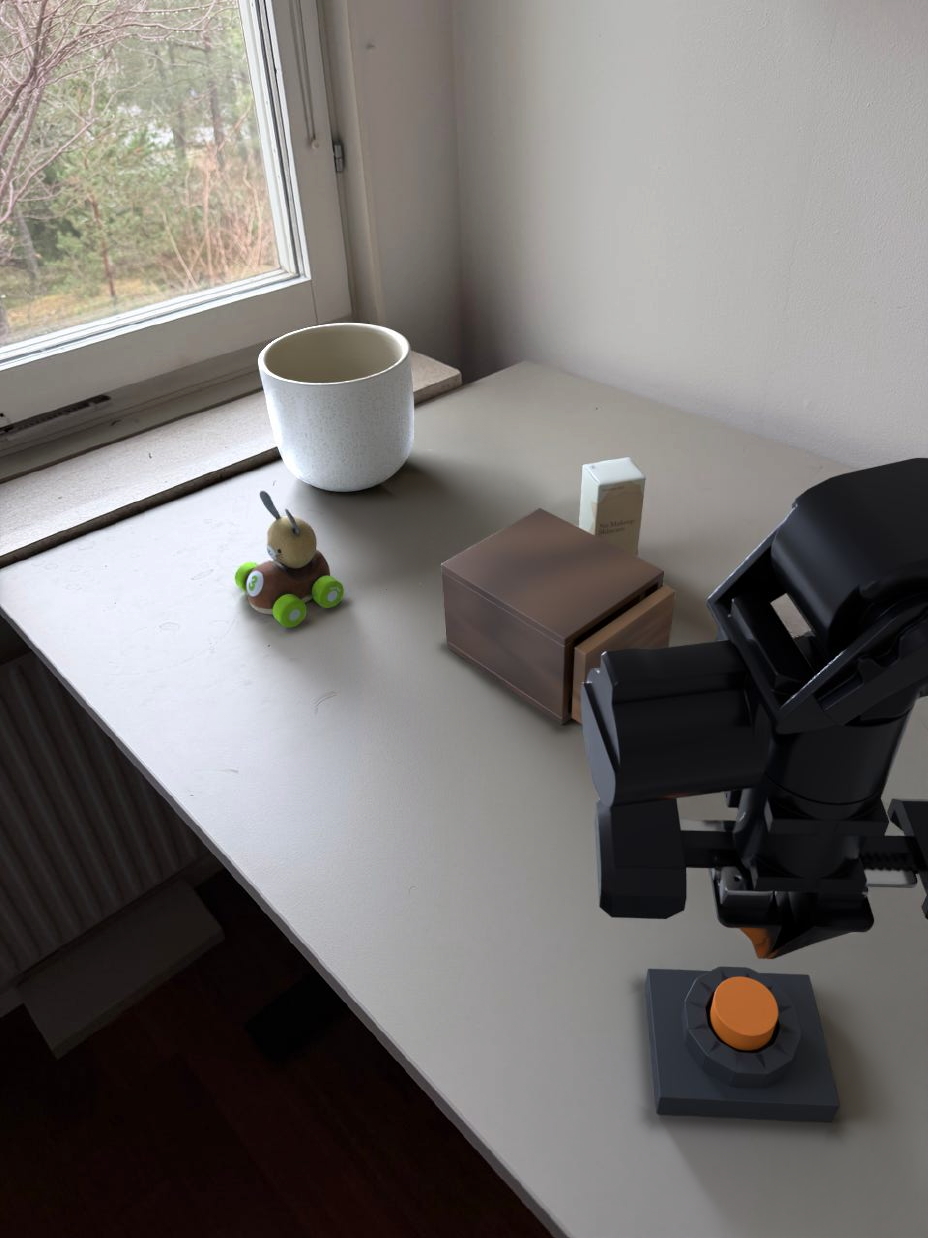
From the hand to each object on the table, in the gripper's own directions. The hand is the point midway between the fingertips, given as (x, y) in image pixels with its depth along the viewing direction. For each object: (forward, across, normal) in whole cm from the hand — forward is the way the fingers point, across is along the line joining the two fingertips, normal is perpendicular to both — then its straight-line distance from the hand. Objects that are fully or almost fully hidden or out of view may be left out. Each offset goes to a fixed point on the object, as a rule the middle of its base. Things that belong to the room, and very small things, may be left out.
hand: (763, 951), depth 51 cm
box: (+11, +5, -51) cm, 52 cm away
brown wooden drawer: (+10, +9, -35) cm, 37 cm away
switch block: (+10, 0, 0) cm, 11 cm away
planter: (+11, +35, -70) cm, 79 cm away
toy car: (+11, +37, -45) cm, 59 cm away
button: (+7, 0, 0) cm, 7 cm away
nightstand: (+10, +11, -37) cm, 40 cm away
